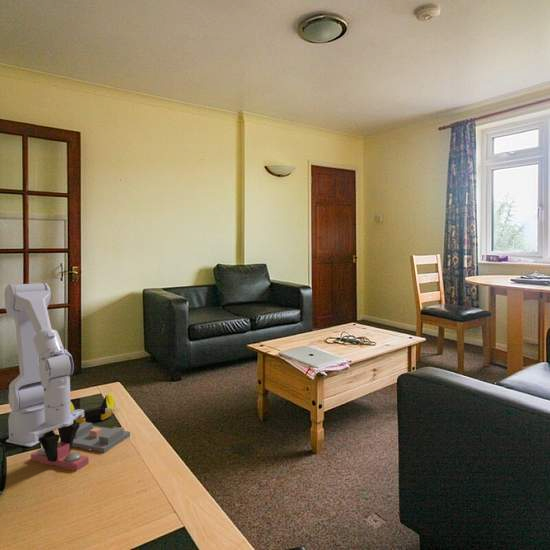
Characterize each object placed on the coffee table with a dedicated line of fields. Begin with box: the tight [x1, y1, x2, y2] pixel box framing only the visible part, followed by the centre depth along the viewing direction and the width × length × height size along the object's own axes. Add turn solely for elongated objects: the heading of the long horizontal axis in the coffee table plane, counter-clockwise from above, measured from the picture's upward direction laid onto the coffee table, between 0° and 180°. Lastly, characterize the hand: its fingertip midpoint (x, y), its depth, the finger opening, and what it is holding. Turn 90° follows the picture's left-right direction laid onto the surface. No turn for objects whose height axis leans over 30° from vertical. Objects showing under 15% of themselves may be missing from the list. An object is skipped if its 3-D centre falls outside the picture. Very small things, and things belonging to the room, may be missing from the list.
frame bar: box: [30, 441, 90, 472], centre depth 96 cm, size 15×4×4 cm, turn 71°
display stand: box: [59, 422, 131, 453], centre depth 107 cm, size 15×10×3 cm, turn 71°
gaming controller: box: [71, 393, 116, 424], centre depth 122 cm, size 15×6×10 cm
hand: (59, 456), depth 96 cm, fingers closed on frame bar, 3 cm apart
